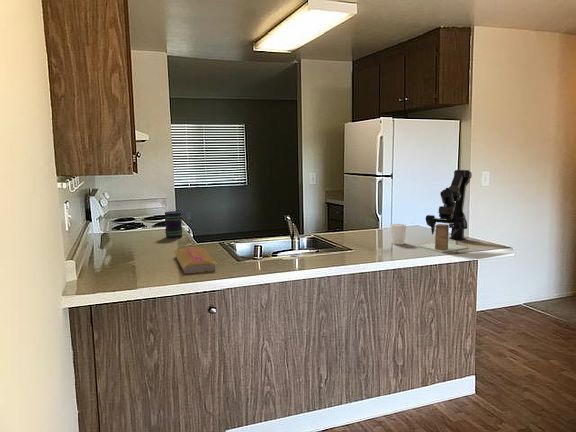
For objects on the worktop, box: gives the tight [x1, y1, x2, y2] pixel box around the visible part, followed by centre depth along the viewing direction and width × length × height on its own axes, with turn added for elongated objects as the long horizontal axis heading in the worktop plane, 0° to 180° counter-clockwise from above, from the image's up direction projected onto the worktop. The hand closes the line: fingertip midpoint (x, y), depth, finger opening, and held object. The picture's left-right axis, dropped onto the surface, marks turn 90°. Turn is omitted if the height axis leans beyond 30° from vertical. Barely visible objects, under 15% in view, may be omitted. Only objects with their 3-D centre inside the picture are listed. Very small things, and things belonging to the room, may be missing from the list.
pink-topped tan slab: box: [173, 246, 218, 274], centre depth 211 cm, size 35×14×6 cm, turn 20°
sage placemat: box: [418, 242, 469, 253], centre depth 238 cm, size 18×16×1 cm
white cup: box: [390, 223, 407, 245], centre depth 249 cm, size 8×8×10 cm
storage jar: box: [164, 210, 184, 240], centre depth 275 cm, size 10×10×15 cm
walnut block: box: [434, 223, 450, 250], centre depth 231 cm, size 5×5×12 cm
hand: (441, 234), depth 231 cm, fingers open, 9 cm apart
